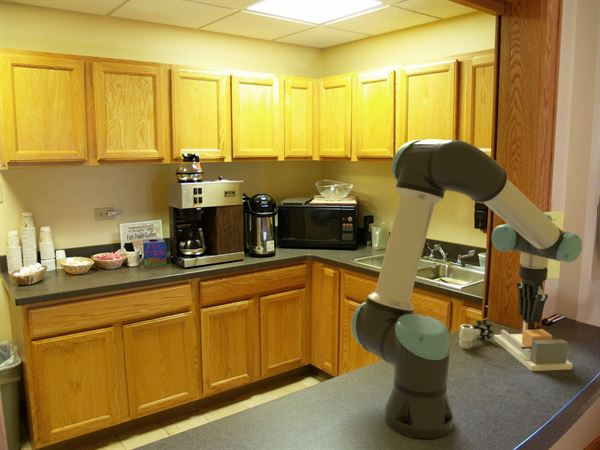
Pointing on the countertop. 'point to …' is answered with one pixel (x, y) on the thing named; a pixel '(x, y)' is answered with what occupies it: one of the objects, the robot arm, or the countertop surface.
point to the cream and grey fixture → (536, 352)
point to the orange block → (534, 337)
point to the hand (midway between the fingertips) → (527, 341)
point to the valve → (473, 333)
